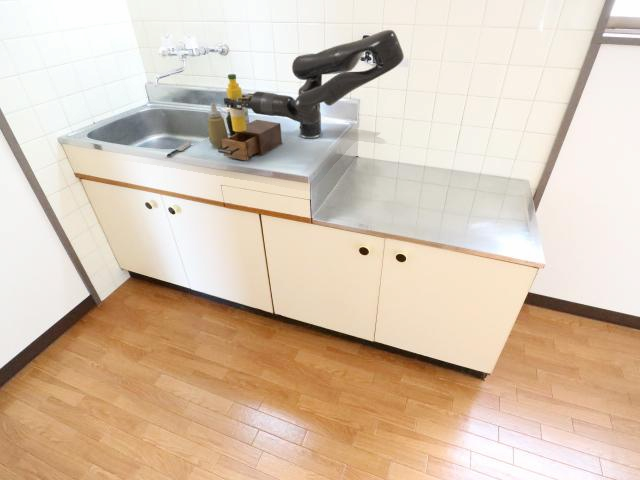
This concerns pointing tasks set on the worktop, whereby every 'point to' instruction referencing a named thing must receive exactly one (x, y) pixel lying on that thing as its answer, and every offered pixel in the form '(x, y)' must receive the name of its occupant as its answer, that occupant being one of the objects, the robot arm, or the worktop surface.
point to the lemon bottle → (236, 115)
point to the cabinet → (264, 134)
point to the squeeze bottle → (216, 127)
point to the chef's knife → (180, 148)
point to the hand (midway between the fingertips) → (230, 99)
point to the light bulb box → (226, 112)
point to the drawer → (240, 146)
